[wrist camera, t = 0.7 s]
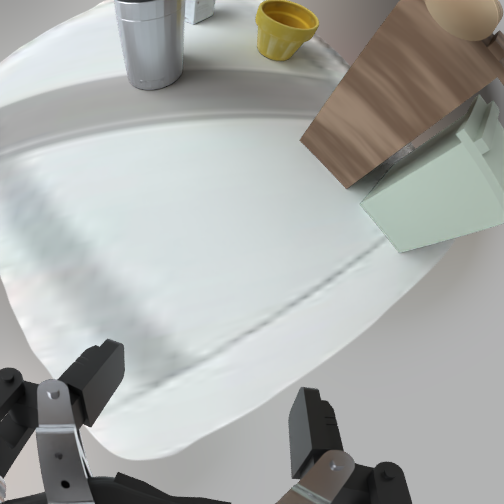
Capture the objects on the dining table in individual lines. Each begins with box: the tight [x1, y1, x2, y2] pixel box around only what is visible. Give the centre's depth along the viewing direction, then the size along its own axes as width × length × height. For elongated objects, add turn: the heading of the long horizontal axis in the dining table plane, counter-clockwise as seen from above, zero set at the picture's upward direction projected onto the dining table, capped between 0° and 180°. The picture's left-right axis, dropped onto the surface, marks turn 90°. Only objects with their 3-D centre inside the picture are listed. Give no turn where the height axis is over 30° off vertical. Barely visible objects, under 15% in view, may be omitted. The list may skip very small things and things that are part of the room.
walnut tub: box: [300, 0, 504, 189], centre depth 26 cm, size 12×12×31 cm
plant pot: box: [255, 0, 319, 61], centre depth 38 cm, size 10×10×10 cm
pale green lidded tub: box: [360, 95, 504, 253], centre depth 30 cm, size 12×12×23 cm
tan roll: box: [425, 0, 503, 41], centre depth 10 cm, size 22×4×4 cm, turn 134°
